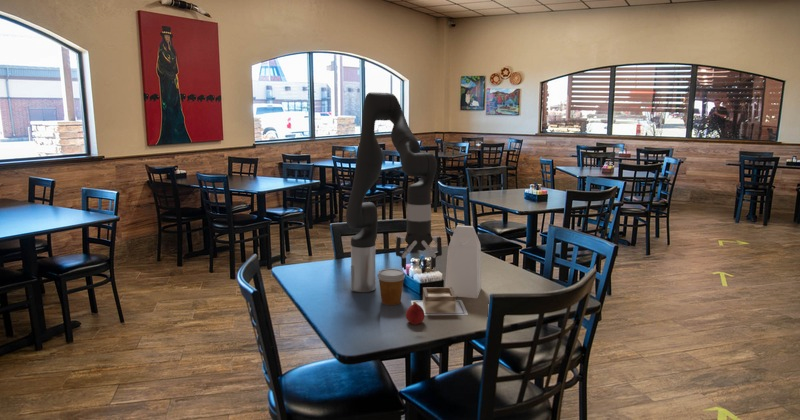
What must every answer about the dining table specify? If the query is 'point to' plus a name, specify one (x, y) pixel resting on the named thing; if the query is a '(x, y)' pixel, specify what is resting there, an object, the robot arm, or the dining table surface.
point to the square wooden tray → (439, 300)
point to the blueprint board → (459, 310)
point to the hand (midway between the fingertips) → (418, 268)
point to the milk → (464, 263)
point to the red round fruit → (415, 314)
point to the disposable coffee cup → (391, 285)
